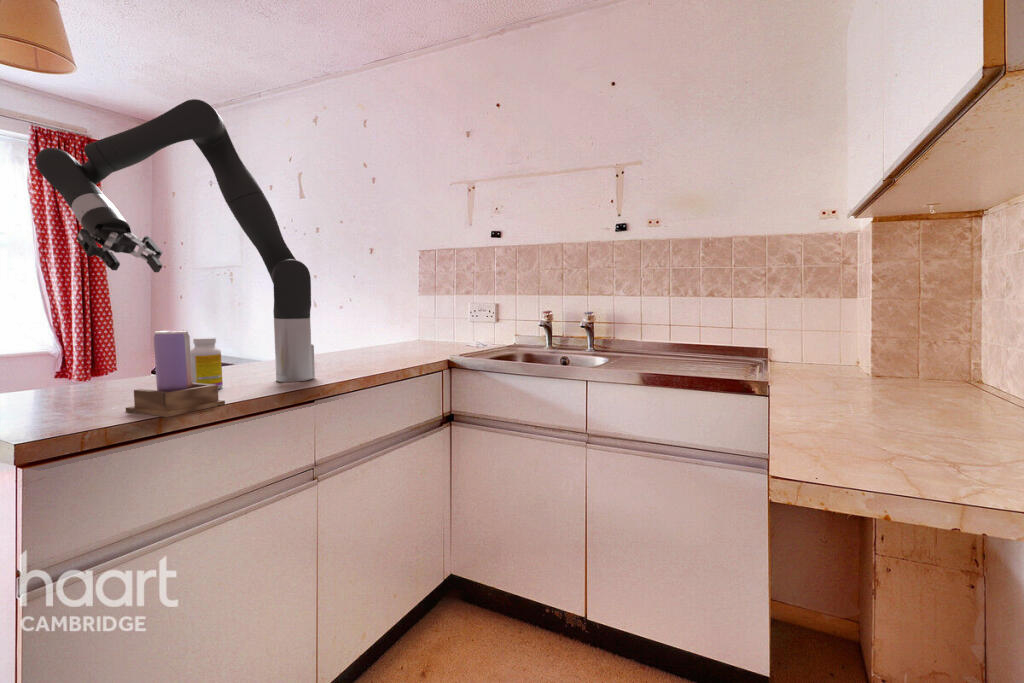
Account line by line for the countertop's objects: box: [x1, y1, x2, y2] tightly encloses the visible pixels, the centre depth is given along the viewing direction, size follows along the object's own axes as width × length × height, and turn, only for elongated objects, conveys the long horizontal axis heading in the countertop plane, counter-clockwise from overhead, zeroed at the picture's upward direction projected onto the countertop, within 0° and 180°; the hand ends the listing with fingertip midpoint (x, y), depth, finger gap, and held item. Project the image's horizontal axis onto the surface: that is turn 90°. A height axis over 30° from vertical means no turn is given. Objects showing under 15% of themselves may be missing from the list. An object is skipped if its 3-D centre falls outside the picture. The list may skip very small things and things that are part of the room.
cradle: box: [125, 383, 226, 418], centre depth 98 cm, size 12×12×4 cm
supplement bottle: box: [190, 337, 224, 390], centre depth 118 cm, size 7×7×13 cm
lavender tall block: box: [153, 329, 193, 392], centre depth 97 cm, size 6×6×15 cm
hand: (138, 268), depth 104 cm, fingers open, 8 cm apart
